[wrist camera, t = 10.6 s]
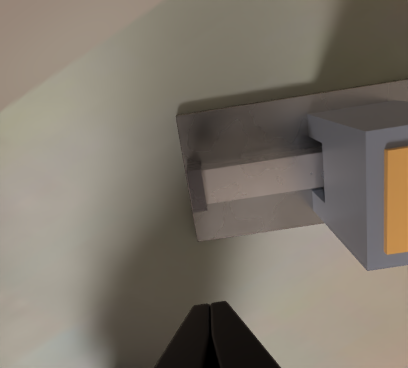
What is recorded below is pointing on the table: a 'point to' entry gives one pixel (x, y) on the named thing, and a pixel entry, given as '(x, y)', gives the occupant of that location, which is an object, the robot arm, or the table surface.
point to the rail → (263, 139)
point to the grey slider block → (365, 180)
